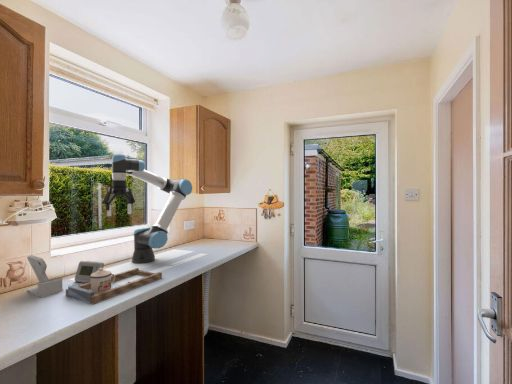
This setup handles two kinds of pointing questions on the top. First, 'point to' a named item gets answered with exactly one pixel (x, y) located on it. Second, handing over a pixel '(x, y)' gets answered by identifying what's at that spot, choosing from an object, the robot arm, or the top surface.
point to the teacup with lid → (101, 281)
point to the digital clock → (87, 270)
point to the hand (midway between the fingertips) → (119, 215)
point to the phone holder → (43, 279)
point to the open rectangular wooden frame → (88, 296)
